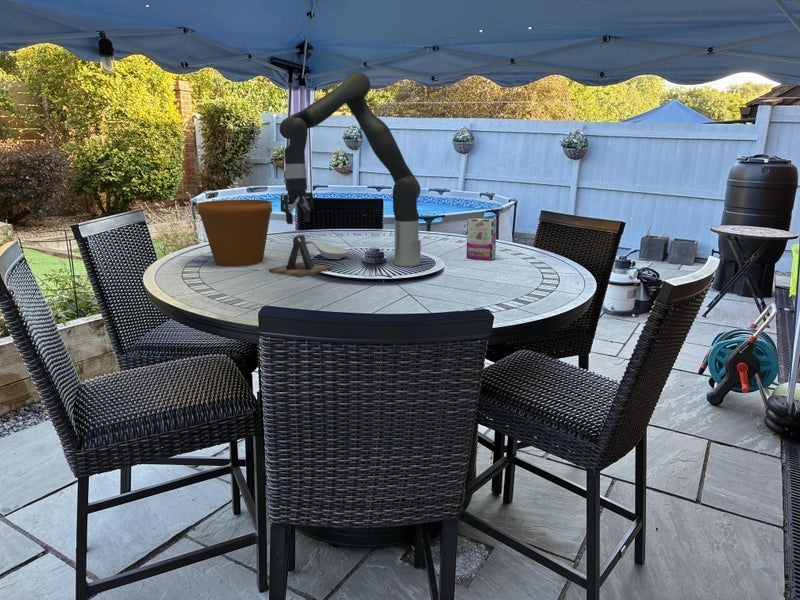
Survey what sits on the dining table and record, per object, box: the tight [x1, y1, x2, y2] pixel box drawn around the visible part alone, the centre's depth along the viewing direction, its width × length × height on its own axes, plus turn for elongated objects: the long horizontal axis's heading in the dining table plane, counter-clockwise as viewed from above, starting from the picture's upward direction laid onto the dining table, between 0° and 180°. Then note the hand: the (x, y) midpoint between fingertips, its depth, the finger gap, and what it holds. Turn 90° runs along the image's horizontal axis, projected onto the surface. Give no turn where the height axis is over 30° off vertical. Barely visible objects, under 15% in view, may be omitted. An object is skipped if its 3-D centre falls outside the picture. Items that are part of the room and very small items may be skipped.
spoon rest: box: [297, 239, 350, 259], centre depth 239 cm, size 24×12×7 cm, turn 65°
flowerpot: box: [196, 199, 273, 267], centre depth 227 cm, size 28×28×24 cm
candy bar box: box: [466, 218, 497, 262], centre depth 235 cm, size 11×5×16 cm, turn 62°
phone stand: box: [286, 234, 315, 270], centre depth 211 cm, size 9×6×12 cm, turn 85°
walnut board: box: [268, 261, 332, 278], centre depth 213 cm, size 16×16×1 cm
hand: (298, 222), depth 208 cm, fingers open, 8 cm apart
